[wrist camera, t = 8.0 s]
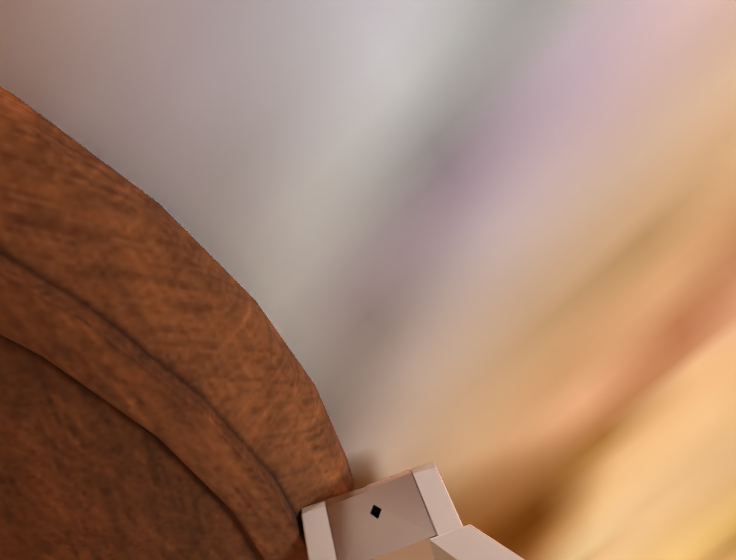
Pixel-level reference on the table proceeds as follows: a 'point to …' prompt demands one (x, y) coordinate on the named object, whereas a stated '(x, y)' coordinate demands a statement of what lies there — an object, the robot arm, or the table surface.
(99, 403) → the cutting board
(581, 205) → the table surface
